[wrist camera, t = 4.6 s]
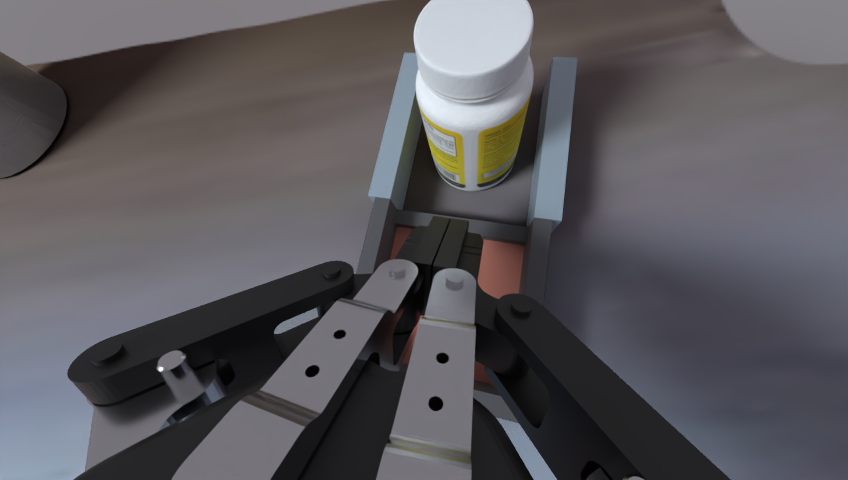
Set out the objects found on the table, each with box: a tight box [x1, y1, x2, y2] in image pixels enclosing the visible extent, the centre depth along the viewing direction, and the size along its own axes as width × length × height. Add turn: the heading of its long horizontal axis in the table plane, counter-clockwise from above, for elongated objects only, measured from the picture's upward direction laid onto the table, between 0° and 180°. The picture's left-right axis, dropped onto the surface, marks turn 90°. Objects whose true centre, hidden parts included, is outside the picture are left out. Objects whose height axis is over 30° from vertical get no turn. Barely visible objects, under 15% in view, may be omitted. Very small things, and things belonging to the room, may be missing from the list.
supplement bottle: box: [414, 0, 534, 191], centre depth 14 cm, size 5×5×8 cm
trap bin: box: [356, 197, 552, 423], centre depth 15 cm, size 9×9×2 cm
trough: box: [368, 53, 578, 233], centre depth 17 cm, size 9×9×2 cm
